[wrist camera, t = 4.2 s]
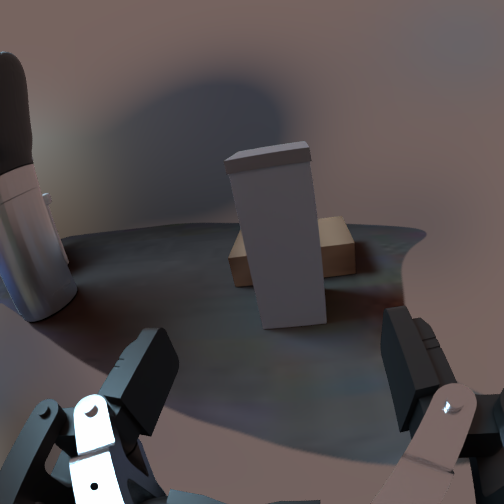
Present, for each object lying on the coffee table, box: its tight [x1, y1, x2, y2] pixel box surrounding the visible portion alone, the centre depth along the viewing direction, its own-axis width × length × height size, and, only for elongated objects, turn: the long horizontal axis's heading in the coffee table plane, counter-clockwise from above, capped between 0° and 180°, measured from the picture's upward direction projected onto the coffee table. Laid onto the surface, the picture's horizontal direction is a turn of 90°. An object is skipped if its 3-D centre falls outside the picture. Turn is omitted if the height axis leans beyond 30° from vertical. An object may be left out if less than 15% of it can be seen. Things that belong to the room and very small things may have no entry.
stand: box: [228, 216, 356, 287], centre depth 29 cm, size 11×7×3 cm, turn 83°
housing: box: [224, 141, 327, 329], centre depth 20 cm, size 5×5×12 cm
